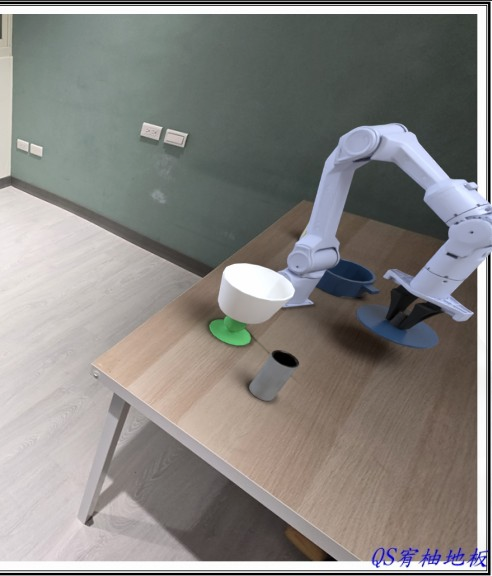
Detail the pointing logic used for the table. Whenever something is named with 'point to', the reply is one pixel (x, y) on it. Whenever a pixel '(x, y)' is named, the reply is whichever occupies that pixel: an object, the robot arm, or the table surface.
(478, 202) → the robot arm
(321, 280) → the pan
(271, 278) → the cup
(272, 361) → the planter
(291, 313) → the table surface
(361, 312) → the lid
